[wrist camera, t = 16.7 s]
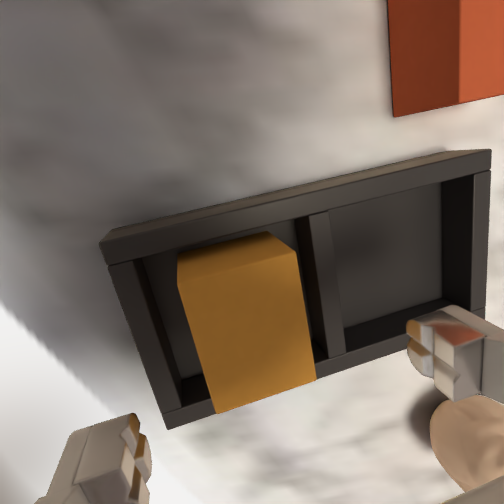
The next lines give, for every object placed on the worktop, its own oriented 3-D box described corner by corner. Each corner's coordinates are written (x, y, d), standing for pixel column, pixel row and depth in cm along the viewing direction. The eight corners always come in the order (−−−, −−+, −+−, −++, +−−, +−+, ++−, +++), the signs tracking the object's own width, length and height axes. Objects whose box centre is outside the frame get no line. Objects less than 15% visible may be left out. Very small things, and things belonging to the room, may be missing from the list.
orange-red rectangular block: (385, -24, 14) (461, -93, 10) (470, -35, 15) (569, -103, 11) (392, 117, 16) (459, 103, 12) (467, 102, 17) (552, 84, 13)
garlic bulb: (489, 365, 22) (645, 467, 15) (482, 434, 24) (618, 554, 17) (409, 391, 21) (534, 515, 14) (408, 460, 23) (518, 602, 16)
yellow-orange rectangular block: (176, 253, 15) (176, 283, 11) (267, 230, 15) (296, 251, 12) (207, 358, 16) (216, 415, 13) (287, 333, 17) (317, 380, 13)
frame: (111, 229, 14) (97, 242, 12) (447, 150, 17) (492, 148, 15) (168, 393, 17) (166, 431, 15) (447, 303, 20) (485, 322, 18)
